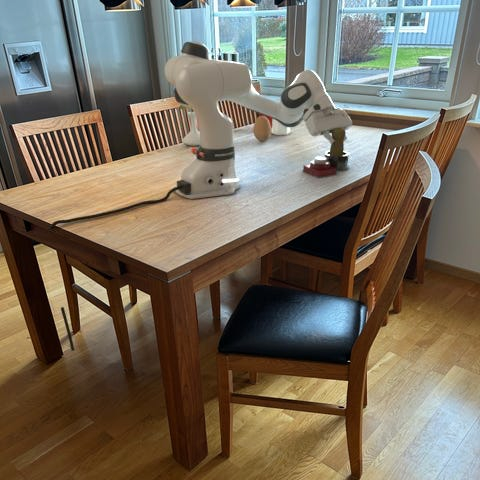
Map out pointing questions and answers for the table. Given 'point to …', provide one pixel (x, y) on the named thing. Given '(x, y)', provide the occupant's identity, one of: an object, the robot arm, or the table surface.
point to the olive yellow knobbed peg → (337, 142)
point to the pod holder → (338, 161)
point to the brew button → (320, 160)
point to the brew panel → (319, 169)
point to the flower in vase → (193, 135)
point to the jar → (279, 128)
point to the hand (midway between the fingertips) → (338, 141)
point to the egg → (262, 128)
